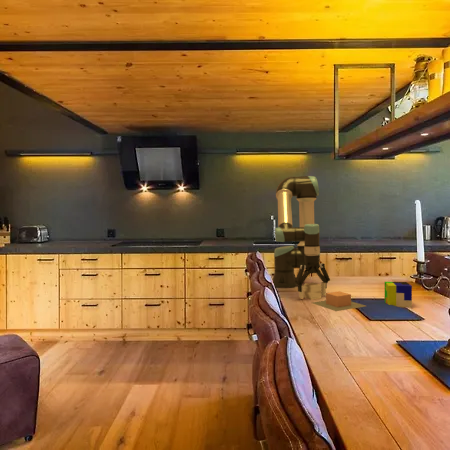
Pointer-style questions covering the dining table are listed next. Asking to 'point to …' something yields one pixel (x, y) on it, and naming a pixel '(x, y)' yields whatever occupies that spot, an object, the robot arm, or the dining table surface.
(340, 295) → the base block
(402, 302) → the puzzle toy
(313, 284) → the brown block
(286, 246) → the robot arm
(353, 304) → the olive square panel
